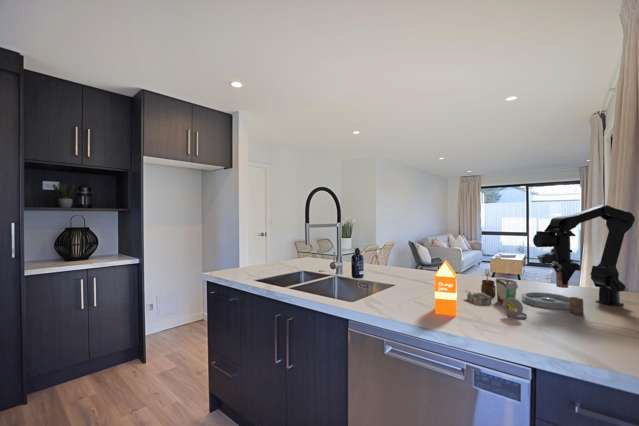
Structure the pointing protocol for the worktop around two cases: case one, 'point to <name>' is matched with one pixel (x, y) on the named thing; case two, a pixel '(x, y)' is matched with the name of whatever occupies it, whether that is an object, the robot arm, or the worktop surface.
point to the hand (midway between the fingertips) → (562, 283)
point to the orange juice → (445, 290)
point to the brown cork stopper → (560, 281)
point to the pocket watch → (513, 307)
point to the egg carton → (479, 298)
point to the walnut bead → (576, 306)
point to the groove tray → (546, 300)
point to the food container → (505, 289)
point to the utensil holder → (488, 286)
